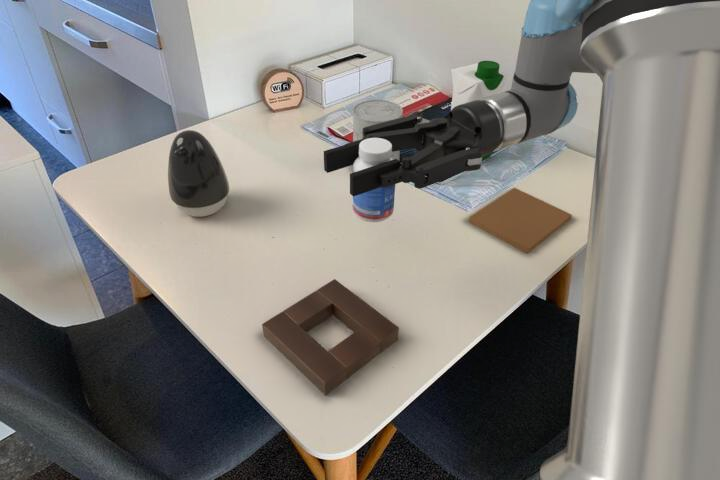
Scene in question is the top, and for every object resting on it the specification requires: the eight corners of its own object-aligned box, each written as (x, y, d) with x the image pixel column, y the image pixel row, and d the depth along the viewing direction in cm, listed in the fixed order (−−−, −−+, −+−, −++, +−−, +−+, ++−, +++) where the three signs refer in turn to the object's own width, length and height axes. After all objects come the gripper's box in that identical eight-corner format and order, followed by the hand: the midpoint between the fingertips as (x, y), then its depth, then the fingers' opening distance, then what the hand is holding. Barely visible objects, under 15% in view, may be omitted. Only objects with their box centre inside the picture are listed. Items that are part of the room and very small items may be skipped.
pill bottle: (390, 225, 67) (394, 158, 60) (349, 221, 67) (349, 154, 61) (395, 201, 71) (400, 136, 65) (356, 197, 71) (357, 133, 65)
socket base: (325, 396, 64) (324, 383, 62) (263, 336, 71) (261, 323, 70) (398, 339, 71) (399, 327, 69) (335, 290, 78) (334, 278, 77)
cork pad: (527, 253, 86) (528, 249, 85) (468, 221, 92) (469, 217, 92) (570, 219, 93) (572, 214, 92) (513, 191, 100) (514, 187, 99)
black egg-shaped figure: (165, 223, 91) (143, 145, 82) (187, 190, 99) (169, 116, 90) (221, 227, 90) (206, 149, 81) (239, 194, 98) (227, 120, 89)
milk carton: (464, 169, 106) (479, 73, 94) (437, 150, 112) (447, 57, 100) (496, 158, 110) (515, 64, 97) (468, 140, 116) (482, 49, 103)
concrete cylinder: (394, 181, 102) (398, 124, 95) (347, 175, 104) (347, 118, 96) (402, 157, 110) (406, 102, 102) (358, 152, 111) (359, 97, 104)
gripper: (527, 180, 68) (380, 239, 58) (438, 125, 80) (303, 166, 70) (540, 128, 63) (382, 182, 54) (443, 78, 76) (300, 114, 66)
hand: (338, 173), depth 62 cm, fingers closed on pill bottle, 5 cm apart
